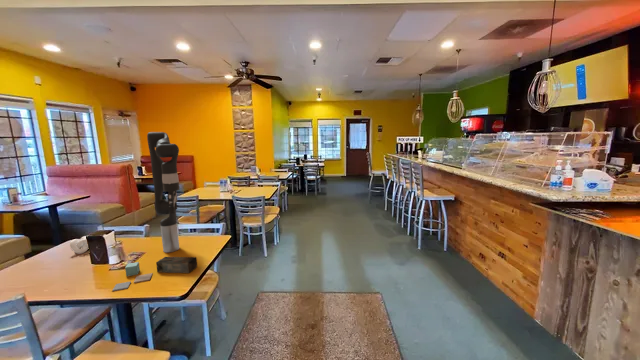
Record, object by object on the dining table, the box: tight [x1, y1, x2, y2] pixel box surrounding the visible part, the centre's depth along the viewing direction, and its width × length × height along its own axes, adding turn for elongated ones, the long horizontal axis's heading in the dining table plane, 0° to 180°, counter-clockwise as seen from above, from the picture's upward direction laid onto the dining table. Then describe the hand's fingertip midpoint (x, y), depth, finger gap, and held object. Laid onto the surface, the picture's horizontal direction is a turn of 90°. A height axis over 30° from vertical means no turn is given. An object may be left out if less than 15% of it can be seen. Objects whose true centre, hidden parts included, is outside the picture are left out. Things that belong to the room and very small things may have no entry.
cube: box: [125, 261, 141, 277], centre depth 144 cm, size 5×5×5 cm
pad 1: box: [111, 281, 131, 292], centre depth 131 cm, size 6×6×1 cm
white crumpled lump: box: [69, 235, 89, 255], centre depth 174 cm, size 11×12×9 cm
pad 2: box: [133, 272, 153, 284], centre depth 139 cm, size 7×7×1 cm
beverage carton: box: [155, 256, 198, 274], centre depth 148 cm, size 8×19×7 cm, turn 84°
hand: (173, 211), depth 145 cm, fingers open, 8 cm apart
